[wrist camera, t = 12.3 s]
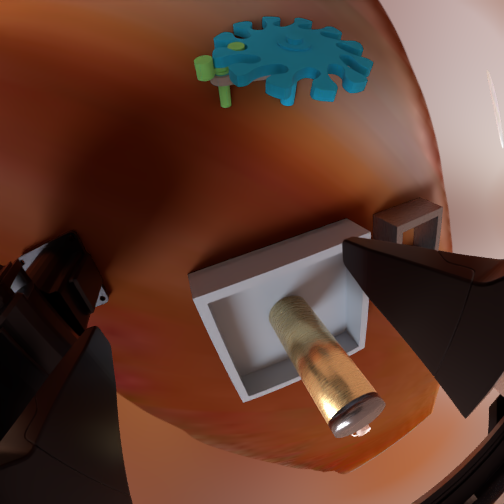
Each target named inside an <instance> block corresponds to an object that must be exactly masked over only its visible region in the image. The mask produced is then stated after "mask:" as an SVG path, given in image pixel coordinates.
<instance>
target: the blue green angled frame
mask: <svg viewBox="0 0 504 504" xmlns="http://www.w3.org/2000/svg"><path fill="white" fill-rule="evenodd" d="M262 28H264V29H263V30H253V29H252V23H251V22H249V21H243V22H238V23H235V24H233V30H234V35H236V36H240V37H243V38H245V39H239V38H236V37H235V36H234V35H233V34H232V33H230V32H223V33H220V34H219V35H217V36H216V37H214V46H215V49H214V50H213V53H212V57H211V56H208V55H203V56H199V57H197V58H196V59H195V60H194V64H195V69H196V74H197V79H198V80H200V81H208V80H210V82H211V84H213V85H215V86H218V89H219V96H220V103H221V106H222V107H223V108H228V107H230V106H231V95H230V85H236V86H237V87H243V86H247V85H248V84H250V83H251V82H252V81H259V80H266V90H265V93H267V94H268V95H270V96H272V97H275V98H278V99H280V102H281V104H283V105H285V106H291V105H293V104H294V100H295V93H296V86H297V81H299V80H301V79H303V78H311V79H314V80H313V82H312V87H311V92H310V96H311V98H312V99H315V100H319V101H328V102H333V101H334V99H335V96H336V93H337V89H338V87H337V85H336V83H334V82H333V81H332V80H331V78H330V77H329V75H328V74H335V75H337V76H339V77H340V78H341V79H342V86H343V88H344V89H345V90H346V91H347V92H349V93H358V92H361V91H363V90H364V89H365V86H366V83H367V81H368V80H367V78H366V77H368V76H369V74H370V71H371V69H372V66H373V62H372V61H371V60H369V59H367V58H364V57H361V55H362V52H363V47H362V45H361V44H360V43H359V42H356V41H344V40H341V36H342V32H341V31H339V30H338V29H336V28H334V27H331V26H327V27H325V28H322V29H314V30H311V28H312V21H310V20H307V19H303V18H295V20H294V23H293V24H291V25H288V26H285V27H280V18H279V17H263V18H262ZM212 58H213V60H212ZM348 66H349V67H348Z"/></svg>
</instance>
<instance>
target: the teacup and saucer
mask: <svg viewBox="0 0 504 504" xmlns="http://www.w3.org/2000/svg"><path fill="white" fill-rule="evenodd" d="M370 429H371V428H370V426H369V425H366V426H365V427H363V428H362V429H360V430H358V431H357V434H356V435H353V434H352V436H357V435H359V436H362V435H364V434H366V433H367V432H368V431H369V430H370Z"/></svg>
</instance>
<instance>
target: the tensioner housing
mask: <svg viewBox="0 0 504 504" xmlns="http://www.w3.org/2000/svg"><path fill="white" fill-rule="evenodd" d="M442 211H443V207H442V206H439V205H437V204H435V203H432V202H430V201H427V200H425V199H422V198H417V199H414V200H412V201H409V202H406V203H403V204H401V205H398V206H395V207H393V208H390V209H387V210H384V211H382V212H379V213H376V214H374V215H373V239H374V240H380V241H386V242H392V243H398V244H402V237H403V232H405V231H407V230H409V229H411V228H414V227H415V228H414V242H413V246H416V247H422V248H427V249H433V250H437V251H438V248H439V241H440V232H441V223H442Z"/></svg>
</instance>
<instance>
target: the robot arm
mask: <svg viewBox="0 0 504 504" xmlns="http://www.w3.org/2000/svg"><path fill="white" fill-rule="evenodd" d="M71 235H72V236H73V237H74V240H72V239H71V238H70V236H71ZM342 253H343V263H344V265H345V267H346V268H347V269H348V271H349V272H350V274H351V275H352V276H353V278H354V279H355V280H356V282H357V283H358V285H359V286H360V287H361V289H362V290H363V292H364V293H365V294H366V295H367V297H368V298H369V299H370V300H371V301H372V302H373V304H374V305H375V306H376V307H377V308H378V309H379V310H380V312H381V313H382V314H383V315H384V316H385V317H386V318H387V320H388V321H389V322H390V323H391V324H392V326H393V327H394V328H395V329H396V330H397V331H398V333H399V334H400V335H401V336H402V337H403V339H404V340H405V341H406V342H407V343H408V345H409V346H410V347H411V348H412V350H413V351H414V352H415V353H416V355H417V356H418V357H419V358H420V359H421V361H422V362H423V363H424V365H425V366H426V367H427V368H428V370H429V371H430V372H431V373H432V375H433V376H435V377H434V378H435V379H436V380H437V381H438V383H439V384H440V385H441V386H442V388H443V389H444V391H445V392H446V393H447V395H448V396H449V397H450V399H451V400H452V401H453V403H454V404H455V406H456V407H457V408H458V409H459V411H460V413H461V414H462V415H463V416H464V417H465V418H467V417H468V416H469V415H470V414H471V413H472V412H473V411H474V410H475V409H476V407H477V406H478V405H479V404H480V403H481V402H482V401H483V399H485V397H486V396H487V395H488V394H489V393H490V392H491V390H492V389H493V388H495V389H496V390H497V391H498V392H499V393H500V395H499V396H498V397H497V398H496V400H495V401H494V402H493V403H492V404H491V406H490V407H489V428H488V436H487V437H486V438H485V439H484V440H483V441H482V442H481V443H480V445H478V447H477V448H476V449H475V450H474V451H473V452H472V453H471V454H470V455H469V456H468V457H467V458H466V459H465V460H464V461H463V462H462V463H461V464H460V465H459V466H457V467H456V468H455V469H454V470H453V471H452V472H451V473H450V474H449V475H448V476H446V477H445V478H444V479H443V480H442V481H441V482H439V483H438V484H437V485H436V486H434V487H433V488H432V489H431V490H429V491H428V492H427V493H426V494H424V495H423V496H421V497H420V498H419V499H417V500H416V501H415V502H413V503H412V504H504V259H492V258H484V257H477V256H469V255H462V254H456V253H450V252H444V251H437V250H433V249H427V248H422V247H416V246H410V245H404V244H398V243H392V242H386V241H380V240H374V239H367V238H361V237H354V236H352V237H349V238H346V239H344V240H343V242H342ZM22 260H24V262H25V263H23V262H22ZM102 283H103V279H102V277H101V275H100V273H99V271H98V270H97V268H96V266H95V264H94V262H93V260H92V258H91V256H90V254H88V253H87V252H86V251H85V248H84V246H83V244H82V242H81V240H80V238H79V236H78V234H77V232H75V231H73V230H72V231H69V232H67V233H65V234H63V235H60V236H58V237H56V238H54V239H52V240H50V241H48V242H46V243H44V244H42V245H40V246H38V247H36V248H34V249H32V250H30V251H29V252H27V253H25V254H23V255H21V256H20V257H19V259H16V260H15V261H14V262H13V263H11V261H10V262H9V263H8V264H7V265H6V266H2V265H0V504H132V500H131V496H130V492H129V487H128V482H127V477H126V472H125V466H124V460H123V454H122V447H121V439H120V431H119V422H118V410H117V395H116V382H115V375H114V368H113V360H112V351H111V346H110V343H109V342H108V340H107V339H106V337H105V336H104V334H103V333H102V332H101V330H100V329H99V328H98V327H97V326H93V327H90V328H87V324H88V320H89V317H90V314H91V313H93V312H94V310H95V307H96V306H99V305H102V304H105V303H107V302H108V299H109V295H108V293H107V291H106V289H105V287H104V286H103V284H102ZM101 296H104V297H105V298H102V297H101ZM86 328H87V329H86ZM79 336H80V337H79Z"/></svg>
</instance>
